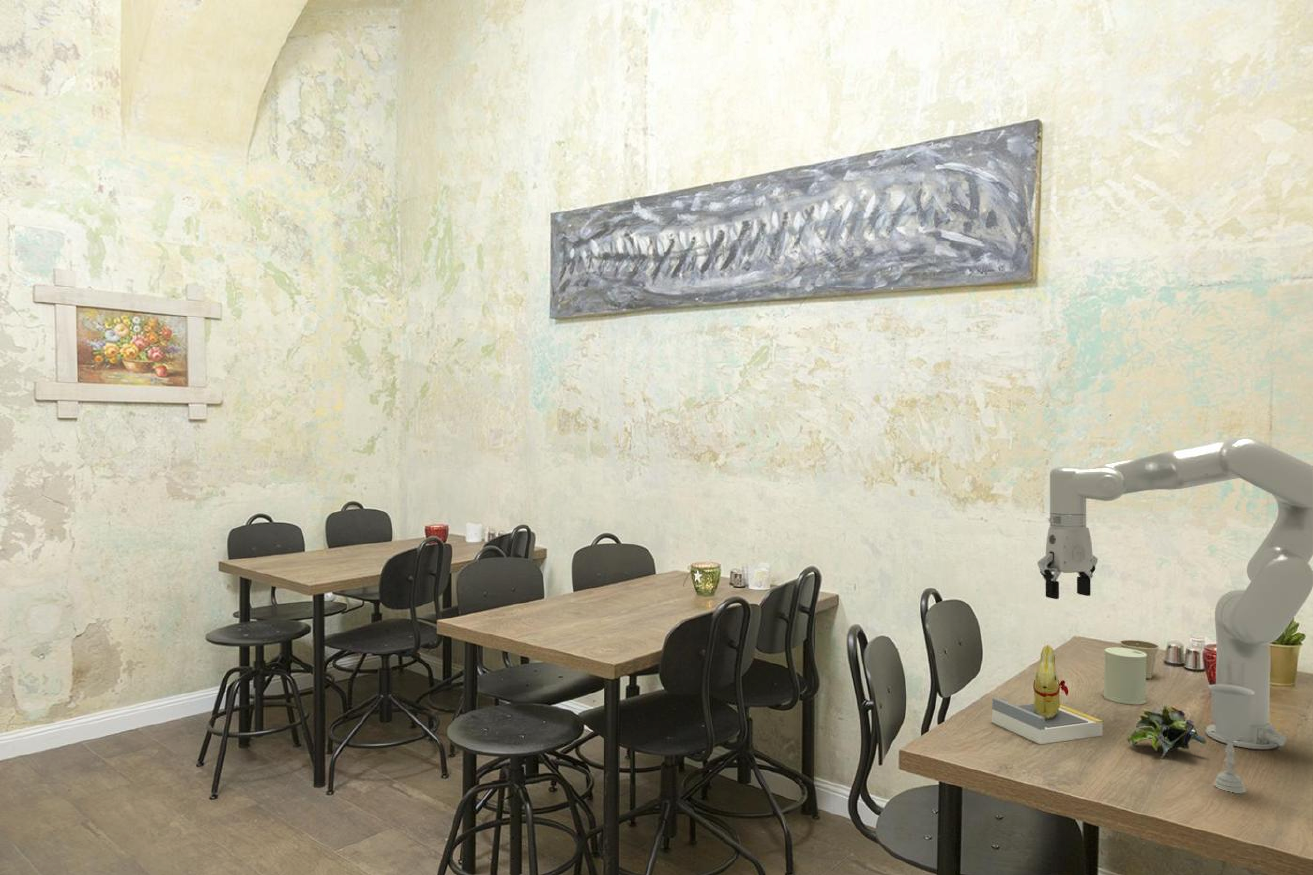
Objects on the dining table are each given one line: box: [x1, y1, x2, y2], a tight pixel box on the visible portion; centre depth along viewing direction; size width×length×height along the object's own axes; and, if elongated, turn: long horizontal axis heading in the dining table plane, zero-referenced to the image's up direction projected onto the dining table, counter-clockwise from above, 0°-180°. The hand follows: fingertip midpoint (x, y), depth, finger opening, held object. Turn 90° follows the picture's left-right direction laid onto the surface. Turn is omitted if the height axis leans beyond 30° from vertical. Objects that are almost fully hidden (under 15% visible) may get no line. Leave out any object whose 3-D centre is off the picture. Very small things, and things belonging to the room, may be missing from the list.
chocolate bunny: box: [1032, 644, 1069, 719], centre depth 187 cm, size 7×11×15 cm, turn 150°
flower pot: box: [1118, 639, 1160, 680], centre depth 230 cm, size 9×9×9 cm
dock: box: [991, 697, 1103, 745], centre depth 187 cm, size 14×17×5 cm
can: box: [1102, 646, 1147, 706], centre depth 210 cm, size 9×9×12 cm
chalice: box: [1207, 683, 1255, 794], centre depth 157 cm, size 7×7×18 cm
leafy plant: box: [1127, 706, 1207, 760], centre depth 174 cm, size 11×11×12 cm
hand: (1068, 596), depth 195 cm, fingers open, 9 cm apart
